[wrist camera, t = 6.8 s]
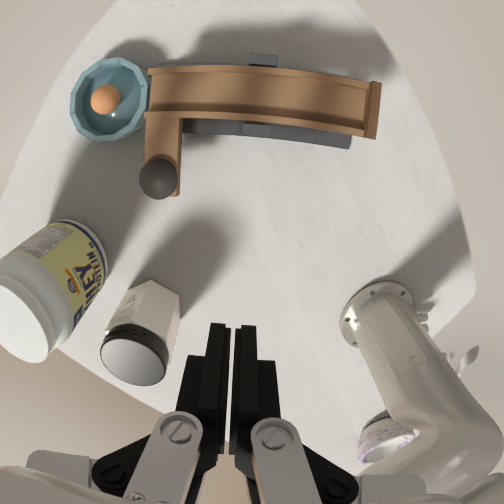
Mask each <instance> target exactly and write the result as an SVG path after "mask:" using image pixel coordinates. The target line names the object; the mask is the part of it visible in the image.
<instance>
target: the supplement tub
mask: <svg viewBox="0 0 504 504" xmlns="http://www.w3.org/2000/svg"><path fill="white" fill-rule="evenodd" d="M107 271H108V264H107V257H106V254H105V251H104V248H103V246H102V244H101V242H100V241H99V239H98V238H97V236H96V235H95V234H94V233H93V232H92V231H91V230H90V229H89V228H88V227H86V226H85V225H83V224H81V223H79V222H77V221H74V220H69V219H61V220H57V221H54V222H51V223H50V224H48V225H47V226H46V227H44V228H43V229H41V230H40V231H38V232H37V233H36V234H34V235H33V236H31V237H30V238H28V239H27V240H26V241H24V242H23V243H22V244H20V245H19V246H18V247H16V248H15V249H14V250H12V251H11V252H10V253H8V254H7V255H6V256H4V257H3V258H1V259H0V344H1V345H2V346H3V347H4V348H5V349H6V350H8V351H9V352H10V353H12V354H13V355H14V356H16V357H18V358H20V359H22V360H24V361H27V362H31V363H39V362H42V361H43V360H45V359H46V357H47V356H48V354H49V353H51V352H52V350H53V349H55V348H58V347H59V346H61V345H62V344H64V343H65V342H66V341H67V340H68V338H69V337H70V335H71V333H72V332H73V330H74V328H75V327H76V325H77V324H78V322H79V321H80V319H81V318H82V316H83V315H84V313H85V312H86V310H87V309H88V307H89V306H90V304H91V303H92V301H93V300H94V298H95V297H96V295H97V294H98V292H99V291H100V290H101V289H102V287H103V285H104V283H105V280H106V277H107Z"/></svg>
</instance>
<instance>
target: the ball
mask: <svg viewBox="0 0 504 504" xmlns="http://www.w3.org/2000/svg"><path fill="white" fill-rule="evenodd" d="M119 103H120V93H119V91H118V89H117V88H116V87H114V86H112V85H103V86H100V87H99V88H97V89H96V90H95V91H94V93H93V94H92V97H91V106H92V108H93V110H94V111H95V112H97V113H99V114H109V113H111V112H113V111H114V110H115V109H116V108H117V107H118V105H119Z"/></svg>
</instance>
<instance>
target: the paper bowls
mask: <svg viewBox="0 0 504 504" xmlns="http://www.w3.org/2000/svg"><path fill="white" fill-rule="evenodd" d="M414 438H415V434H414V432H413V429H412V428H409V427H405V426H403V425H400V424H399V423H397V422H396V421H394V420H393V419H392V418H385V419H381V420H379V421H376V422H374V423H372V424H371V425H369V426H368V427H366V428H365V429H364V430H363V432H362V433H361V435H360V439H359V440H358V441H357V442H356V443H355V445H354V448H355V452H356V455H357V459H358V461H359V463H361V464H374V463H376V462H378V461H379V460H381V459H383V458H385V457H386V456H388V455H390V454H392V453H393V452H395V451H397V450H398V449H400V448H402V447H403V446H405V445H406V444H408V443H409V442H410V441H412V440H413V439H414Z"/></svg>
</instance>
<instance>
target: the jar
mask: <svg viewBox="0 0 504 504" xmlns="http://www.w3.org/2000/svg"><path fill="white" fill-rule="evenodd" d="M179 324H180V305H179V295H177V294H176V293H174V292H172V291H170V290H168V289H167V288H165V287H163V286H161V285H160V284H158V283H156V282H155V281H153V280H149V281H146V282H144V283H142V284H140V285H138V286H136V287H134V288H132V289H130V290H127V292H126V293H125V295H124V297H123V299H122V300H121V302H120V304H119V306H118V308H117V309H116V311H115V313H114V315H113V317H112V319H111V320H110V322H109V324H108V326H107V328H106V330H105V333H106V336H105V338H104V340H103V344H102V346H101V349H100V356H101V360H102V362H103V364H104V365H105V367H106V368H107V369H108V370H109V371H110V372H111V373H112V374H113V375H114V376H116V377H117V378H119V379H120V380H122V381H124V382H127V383H130V384H133V385H138V386H150V385H154V384H156V383H158V382H160V381H161V380H162V379H163V378H164V376H165V374H166V370H167V366H169V365H170V362H171V358H172V354H173V349H174V345H175V341H176V337H177V333H178V329H179Z"/></svg>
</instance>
